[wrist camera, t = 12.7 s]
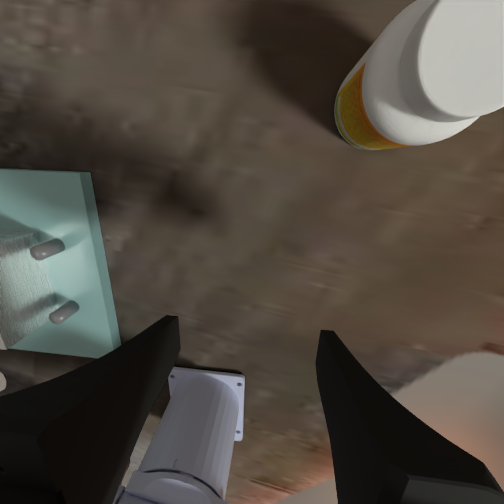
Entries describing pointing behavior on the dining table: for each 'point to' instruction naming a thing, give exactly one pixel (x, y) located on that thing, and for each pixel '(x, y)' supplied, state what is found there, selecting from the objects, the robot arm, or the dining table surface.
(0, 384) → the wineglass
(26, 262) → the block
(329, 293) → the dining table surface
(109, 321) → the pin tray
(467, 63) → the supplement bottle
